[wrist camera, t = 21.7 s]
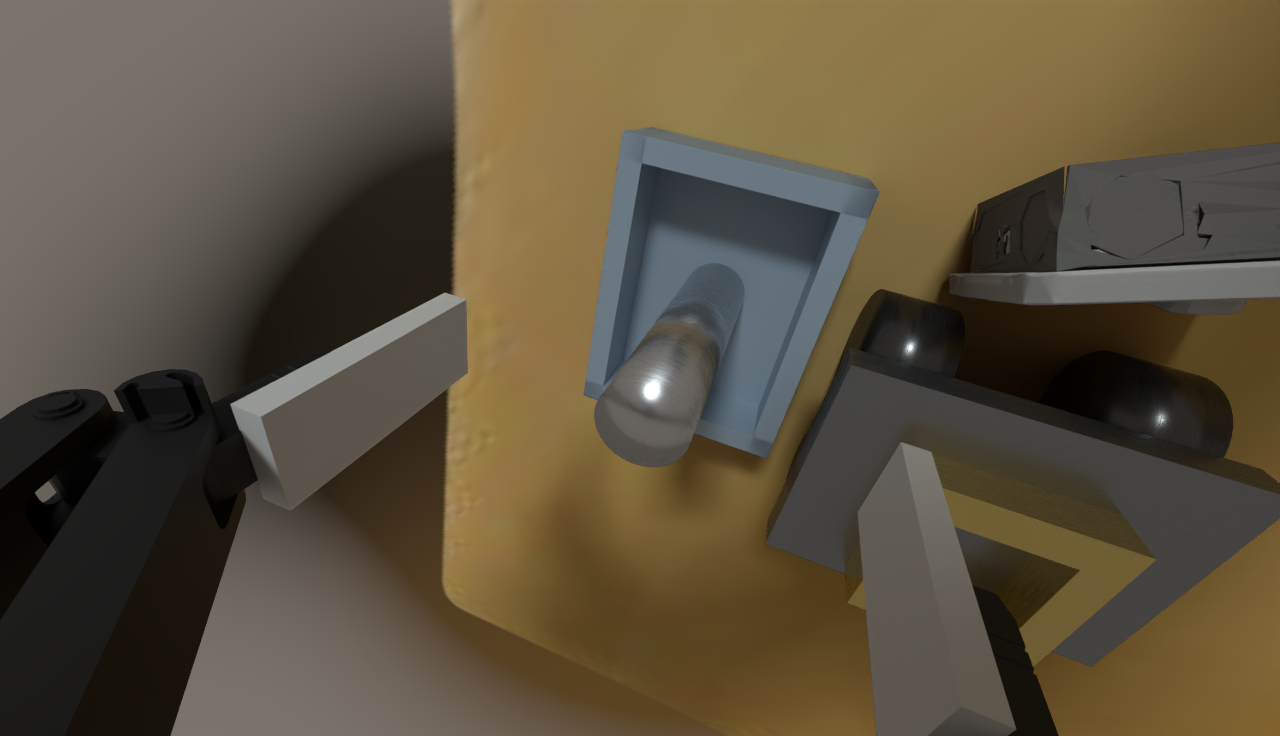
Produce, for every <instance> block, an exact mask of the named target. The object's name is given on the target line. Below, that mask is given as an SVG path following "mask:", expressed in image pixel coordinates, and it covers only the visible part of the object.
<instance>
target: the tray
mask: <svg viewBox="0 0 1280 736" xmlns="http://www.w3.org/2000/svg"><path fill="white" fill-rule="evenodd" d="M878 195H879V191H878V189H877V188H876V187H875V186H874V184H873V183H872V182H871V181H870V179H868V178H864V177H860V176H855V175H851V174H847V173H843V172H838V171H834V170H830V169H826V168H821V167H817V166H813V165H809V164H804V163H800V162H796V161H791V160H787V159H783V158H779V157H774V156H770V155H766V154H762V153H757V152H753V151H749V150H745V149H740V148H736V147H732V146H728V145H723V144H719V143H715V142H711V141H706V140H702V139H698V138H694V137H689V136H685V135H681V134H676V133H672V132H668V131H664V130H659V129H655V128H643V129H634V130H625V131H623V133H622V140H621V146H620V153H619V160H618V167H617V173H616V180H615V187H614V194H613V200H612V207H611V214H610V221H609V227H608V234H607V241H606V248H605V254H604V261H603V268H602V275H601V281H600V288H599V295H598V301H597V308H596V315H595V322H594V328H593V335H592V342H591V349H590V355H589V362H588V369H587V376H586V382H585V389H584V396H587V397H590V398H593V399H596V400H598V399H599V398H600V396H601V395H602V393H603V392H604V391H605V389H606V388H607V386H608V385H609V384H610V382H611V381H612V380H613V378H614V377H615V376H616V374H617V373H618V372H619V370H620V369H621V368H622V366H623V365H624V364H625V362H626V361H627V360H628V358H629V357H630V355H631V354H632V353H633V351H634V350H635V349H636V347H637V346H638V345H639V343H640V342H641V341H642V339H643V338H644V337H645V335H646V334H647V333H648V331H649V330H650V329H651V327H652V326H653V325H654V323H655V322H656V320H657V319H658V318H659V316H660V315H661V314H662V312H663V311H664V310H665V308H666V307H667V306H668V304H669V303H670V302H671V300H672V299H673V298H674V296H675V295H676V294H677V292H678V291H679V290H680V288H681V287H682V285H683V284H684V283H685V281H686V280H687V279H688V277H689V276H690V275H691V273H692V272H693V271H694V270H696V269H697V268H698V267H700V266H702V265H705V264H710V263H719V264H723V265H726V266H728V267H730V268H731V269H733V270H734V271H735V272H736V273H737V274H738V275H739V276H740V278H741V280H742V282H743V284H744V289H745V297H744V301H743V304H742V307H741V309H740V312H739V315H738V317H737V320H736V323H735V325H734V328H733V331H732V333H731V336H730V339H729V341H728V344H727V347H726V349H725V352H724V355H723V357H722V360H721V363H720V365H719V368H718V371H717V373H716V376H715V379H714V381H713V384H712V387H711V389H710V392H709V395H708V398H707V400H706V403H705V406H704V408H703V411H702V414H701V416H700V419H699V422H698V424H697V427H696V430H695V432H694V434H697V435H700V436H703V437H706V438H709V439H712V440H714V441H717V442H720V443H723V444H726V445H729V446H732V447H735V448H738V449H740V450H743V451H746V452H749V453H752V454H755V455H758V456H761V457H764V458H766V459H767V456H768V454H769V452H770V449H771V447H772V445H773V442H774V440H775V438H776V435H777V433H778V430H779V428H780V426H781V423H782V421H783V419H784V416H785V414H786V412H787V409H788V407H789V404H790V402H791V400H792V397H793V395H794V393H795V390H796V388H797V386H798V383H799V381H800V379H801V376H802V374H803V371H804V369H805V367H806V364H807V362H808V360H809V357H810V355H811V353H812V350H813V348H814V346H815V343H816V341H817V338H818V336H819V334H820V331H821V329H822V327H823V324H824V322H825V320H826V317H827V315H828V312H829V310H830V308H831V305H832V303H833V301H834V298H835V296H836V294H837V291H838V289H839V287H840V284H841V282H842V279H843V277H844V275H845V272H846V270H847V268H848V265H849V263H850V261H851V258H852V256H853V253H854V251H855V249H856V246H857V244H858V242H859V239H860V237H861V235H862V232H863V230H864V228H865V225H866V223H867V220H868V218H869V216H870V213H871V211H872V209H873V206H874V204H875V202H876V199H877V197H878Z"/></svg>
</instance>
